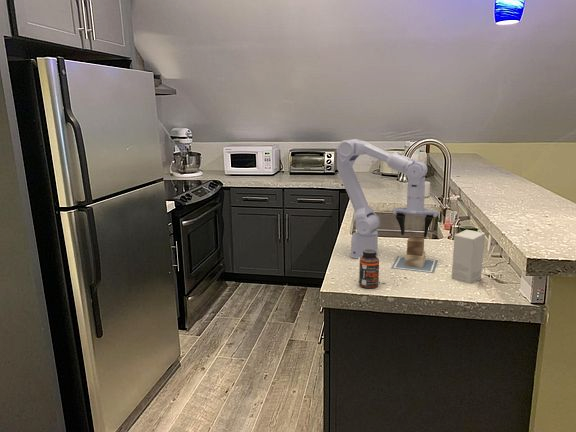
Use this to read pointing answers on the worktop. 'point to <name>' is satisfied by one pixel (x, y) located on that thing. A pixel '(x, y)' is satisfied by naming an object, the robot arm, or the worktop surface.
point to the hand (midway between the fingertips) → (414, 235)
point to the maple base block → (415, 260)
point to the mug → (427, 189)
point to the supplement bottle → (369, 269)
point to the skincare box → (468, 256)
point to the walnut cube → (415, 246)
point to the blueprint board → (428, 267)
